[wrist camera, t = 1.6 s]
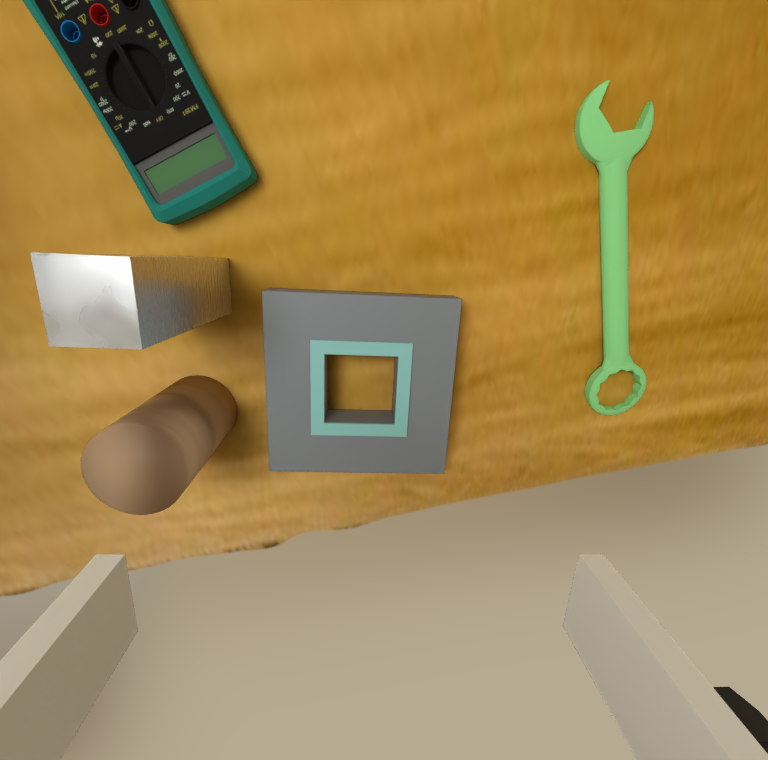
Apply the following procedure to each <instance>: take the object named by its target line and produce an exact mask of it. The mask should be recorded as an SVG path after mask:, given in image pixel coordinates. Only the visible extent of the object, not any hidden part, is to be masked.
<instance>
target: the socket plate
mask: <svg viewBox="0 0 768 760" xmlns="http://www.w3.org/2000/svg"><path fill="white" fill-rule="evenodd" d="M461 303H462V299H460V298H458V297H455V296H448V295H425V294H402V293H378V292H355V291H332V290H308V289H285V288H269V289H266V290H262V306H263V330H264V354H265V377H266V401H267V425H268V449H269V471H278V472H354V473H430V474H444V471H445V461H446V451H447V441H448V431H449V421H450V411H451V401H452V392H453V382H454V372H455V362H456V352H457V342H458V332H459V322H460V312H461ZM328 354H334V355H365V356H395V362H394V380H393V398H392V411H388V410H345V409H327V382H328Z"/></svg>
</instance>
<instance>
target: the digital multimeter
mask: <svg viewBox="0 0 768 760" xmlns="http://www.w3.org/2000/svg"><path fill="white" fill-rule="evenodd" d="M23 2H24V3H25V5H26V6H27V8H28V9H29V11H30V12H31V14H32V15H33V17H34V18H35V20H36V21H37V23H38V25H39V26H40V28H41V29H42V31H43V32H44V34H45V35H46V37H47V38H48V40H49V41H50V43H51V44H52V46H53V47H54V49H55V50H56V52H57V53H58V55H59V57H60V58H61V60H62V61H63V63H64V64H65V66H66V68H67V69H68V71H69V72H70V74H71V75H72V77H73V79H74V80H75V82H76V83H77V85H78V86H79V88H80V90H81V91H82V93H83V94H84V96H85V97H86V99H87V101H88V102H89V104H90V105H91V107H92V109H93V111H94V112H95V114H96V116H97V117H98V119H99V121H100V122H101V124H102V126H103V127H104V129H105V131H106V133H107V134H108V136H109V138H110V139H111V141H112V143H113V144H114V146H115V148H116V150H117V151H118V153H119V155H120V156H121V158H122V160H123V162H124V164H125V165H126V167H127V169H128V171H129V173H130V174H131V176H132V178H133V180H134V182H135V183H136V185H137V187H138V189H139V191H140V193H141V194H142V196H143V198H144V200H145V202H146V203H147V205H148V207H149V209H150V211H151V213H152V214H153V216H154V218H155V219H156V220H157V221H159V222H162V223H167V224H172V225H174V224H178V223H180V222H183V221H185V220H188V219H190V218H193V217H195V216H197V215H200V214H202V213H204V212H206V211H209V210H210V209H212V208H214V207H216V206H218V205H220V204H222V203H224V202H225V201H227V200H229V199H230V198H232V197H234V196H235V195H237V194H238V193H240V192H241V191H243V190H244V189H246V188H247V187H249V186H250V185H252V184H253V183H254V182H256V180H257V173H256V171H255V169H254V167H253V166H252V164H251V162H250V160H249V159H248V157H247V155H246V153H245V151H244V150H243V148H242V146H241V144H240V143H239V141H238V139H237V137H236V136H235V134H234V132H233V130H232V129H231V127H230V125H229V123H228V122H227V120H226V118H225V116H224V115H223V113H222V111H221V109H220V107H219V105H218V103H217V101H216V100H215V98H214V96H213V94H212V92H211V90H210V88H209V86H208V85H207V83H206V81H205V79H204V77H203V75H202V73H201V71H200V70H199V68H198V66H197V64H196V62H195V60H194V58H193V56H192V54H191V52H190V50H189V48H188V46H187V44H186V42H185V40H184V38H183V36H182V34H181V32H180V30H179V28H178V26H177V24H176V22H175V19H174V17H173V15H172V13H171V11H170V9H169V7H168V5H167V3H166V1H165V0H23ZM152 6H153V7H152ZM153 8H154V9H153ZM154 10H155V11H154ZM162 25H163V26H162ZM163 27H164V28H163ZM164 29H165V30H164ZM172 44H173V45H172ZM173 46H174V47H173ZM158 55H159V56H158ZM162 61H163V62H162ZM182 63H183V64H182ZM190 78H191V79H190ZM191 80H192V81H191ZM105 86H106V87H105ZM108 92H109V93H108ZM199 95H200V96H199ZM200 97H201V98H200ZM112 98H113V99H112ZM209 114H210V115H209ZM210 116H211V117H210Z"/></svg>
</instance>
